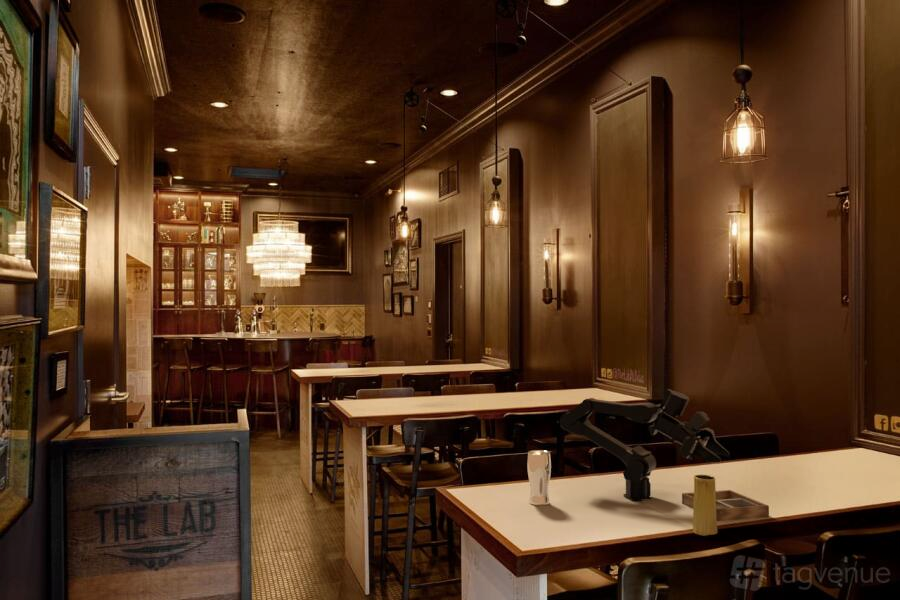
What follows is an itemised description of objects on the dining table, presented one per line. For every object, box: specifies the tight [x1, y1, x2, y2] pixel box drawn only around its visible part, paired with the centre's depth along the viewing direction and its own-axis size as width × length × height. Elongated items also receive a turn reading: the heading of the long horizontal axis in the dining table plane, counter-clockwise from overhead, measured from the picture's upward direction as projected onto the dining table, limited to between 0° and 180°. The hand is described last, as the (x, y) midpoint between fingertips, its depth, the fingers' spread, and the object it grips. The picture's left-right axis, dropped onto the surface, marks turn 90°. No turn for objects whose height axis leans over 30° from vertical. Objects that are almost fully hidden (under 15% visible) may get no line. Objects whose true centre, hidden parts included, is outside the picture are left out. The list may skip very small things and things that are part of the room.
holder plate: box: [716, 498, 760, 509], centre depth 189 cm, size 9×9×2 cm
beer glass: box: [526, 449, 552, 507], centre depth 201 cm, size 7×7×15 cm
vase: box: [692, 474, 718, 537], centre depth 174 cm, size 6×6×14 cm
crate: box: [681, 489, 770, 522], centre depth 192 cm, size 16×17×4 cm
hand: (724, 457), depth 191 cm, fingers open, 9 cm apart
